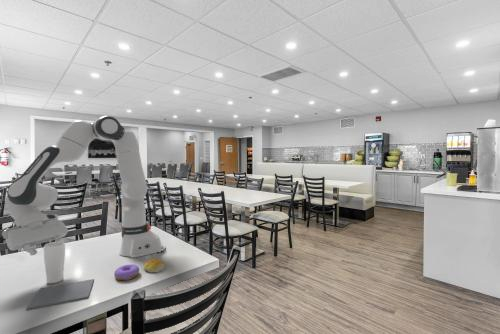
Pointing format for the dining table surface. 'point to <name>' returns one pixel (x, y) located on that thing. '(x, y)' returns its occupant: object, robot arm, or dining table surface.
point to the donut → (126, 272)
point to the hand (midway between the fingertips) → (47, 250)
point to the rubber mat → (61, 294)
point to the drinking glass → (54, 261)
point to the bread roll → (154, 265)
